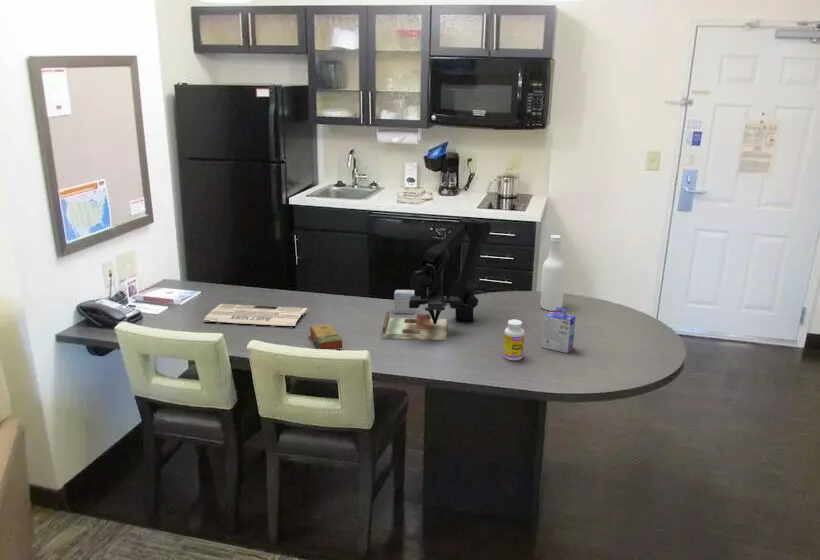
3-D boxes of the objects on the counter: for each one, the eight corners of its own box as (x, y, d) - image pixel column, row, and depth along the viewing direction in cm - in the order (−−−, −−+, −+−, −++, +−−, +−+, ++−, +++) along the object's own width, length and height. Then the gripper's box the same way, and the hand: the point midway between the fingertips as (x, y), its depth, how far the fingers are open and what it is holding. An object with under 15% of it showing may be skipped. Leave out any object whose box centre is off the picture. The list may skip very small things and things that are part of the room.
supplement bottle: (509, 362, 224) (511, 327, 220) (499, 354, 229) (501, 320, 225) (526, 358, 226) (528, 323, 222) (516, 351, 232) (518, 317, 228)
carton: (332, 333, 249) (331, 322, 248) (343, 350, 235) (342, 339, 234) (310, 336, 247) (309, 325, 245) (320, 354, 232) (319, 342, 231)
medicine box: (415, 310, 270) (414, 289, 267) (414, 314, 266) (413, 293, 263) (395, 309, 271) (395, 289, 268) (394, 313, 267) (393, 293, 264)
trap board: (446, 324, 256) (446, 313, 254) (446, 340, 242) (446, 328, 240) (386, 322, 257) (386, 312, 256) (382, 338, 243) (382, 327, 242)
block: (430, 323, 251) (430, 313, 250) (430, 329, 246) (430, 319, 245) (417, 323, 251) (417, 313, 250) (416, 328, 246) (416, 318, 245)
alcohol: (539, 303, 276) (543, 232, 266) (561, 304, 275) (566, 233, 265) (540, 311, 267) (544, 238, 258) (563, 312, 266) (568, 239, 257)
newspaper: (309, 312, 270) (308, 306, 269) (293, 331, 252) (293, 324, 251) (223, 308, 276) (222, 301, 275) (201, 326, 257) (201, 319, 257)
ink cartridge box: (573, 348, 234) (576, 309, 229) (568, 354, 230) (571, 314, 225) (546, 342, 239) (549, 304, 234) (541, 347, 235) (543, 309, 230)
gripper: (407, 291, 236) (408, 332, 241) (461, 291, 235) (460, 332, 240) (409, 281, 246) (410, 320, 251) (460, 281, 245) (460, 320, 250)
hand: (434, 323), depth 248 cm, fingers closed
